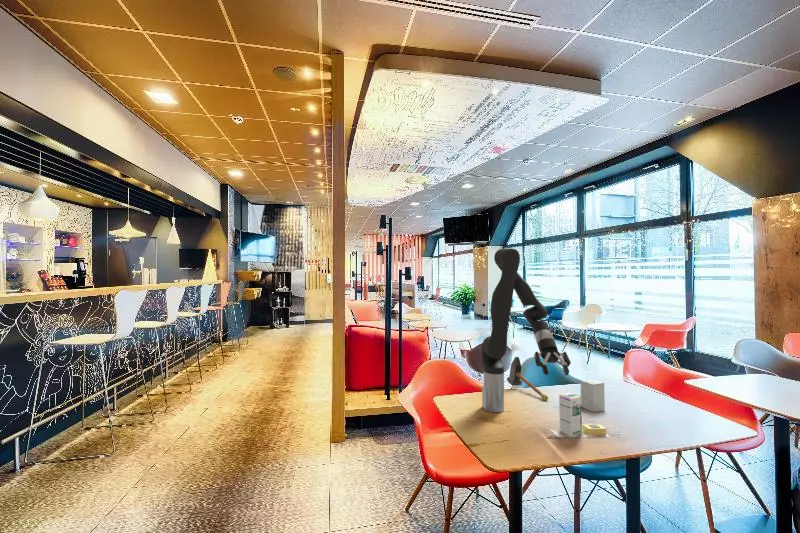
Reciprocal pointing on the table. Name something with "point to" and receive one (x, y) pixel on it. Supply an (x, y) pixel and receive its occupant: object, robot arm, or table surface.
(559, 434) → the board
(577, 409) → the syrup box
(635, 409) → the table surface
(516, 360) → the hammer
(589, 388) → the supplement box
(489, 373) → the robot arm
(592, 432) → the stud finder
